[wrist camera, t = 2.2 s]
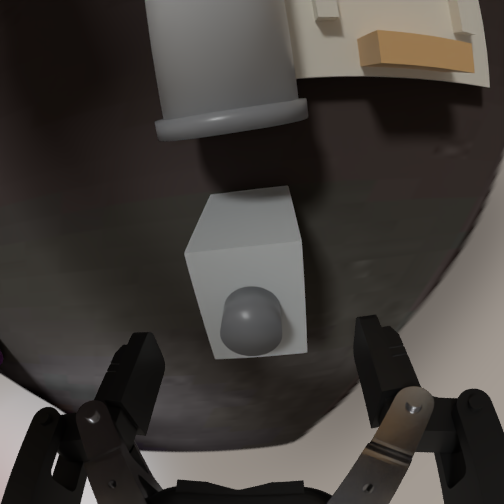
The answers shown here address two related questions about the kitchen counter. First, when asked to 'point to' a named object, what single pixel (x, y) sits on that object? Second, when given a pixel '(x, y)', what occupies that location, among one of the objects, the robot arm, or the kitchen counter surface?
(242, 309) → the grey box with knob
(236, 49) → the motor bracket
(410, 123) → the kitchen counter surface
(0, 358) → the beverage can
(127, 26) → the kitchen counter surface
